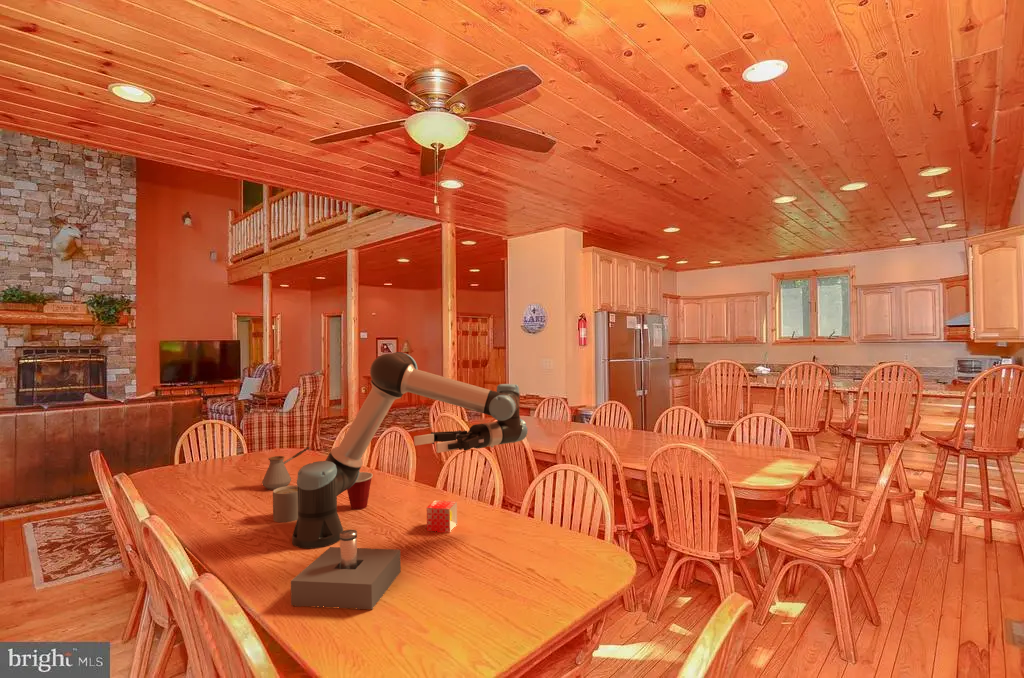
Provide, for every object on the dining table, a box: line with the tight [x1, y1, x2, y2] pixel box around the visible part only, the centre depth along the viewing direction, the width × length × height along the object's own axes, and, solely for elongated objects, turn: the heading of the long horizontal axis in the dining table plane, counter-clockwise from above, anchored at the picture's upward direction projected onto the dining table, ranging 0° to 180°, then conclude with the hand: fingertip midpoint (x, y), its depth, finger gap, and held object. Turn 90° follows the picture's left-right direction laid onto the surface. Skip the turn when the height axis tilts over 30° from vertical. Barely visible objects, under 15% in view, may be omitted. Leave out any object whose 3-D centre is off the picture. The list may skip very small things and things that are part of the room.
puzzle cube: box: [426, 499, 458, 533], centre depth 174 cm, size 8×8×8 cm
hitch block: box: [290, 546, 402, 610], centre depth 133 cm, size 20×20×6 cm
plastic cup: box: [346, 471, 374, 511], centre depth 196 cm, size 11×11×12 cm
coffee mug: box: [272, 485, 298, 523], centre depth 188 cm, size 13×10×10 cm
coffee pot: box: [261, 446, 312, 491], centre depth 228 cm, size 21×12×15 cm, turn 139°
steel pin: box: [339, 529, 358, 569], centre depth 133 cm, size 4×4×14 cm
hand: (425, 444), depth 153 cm, fingers open, 13 cm apart
